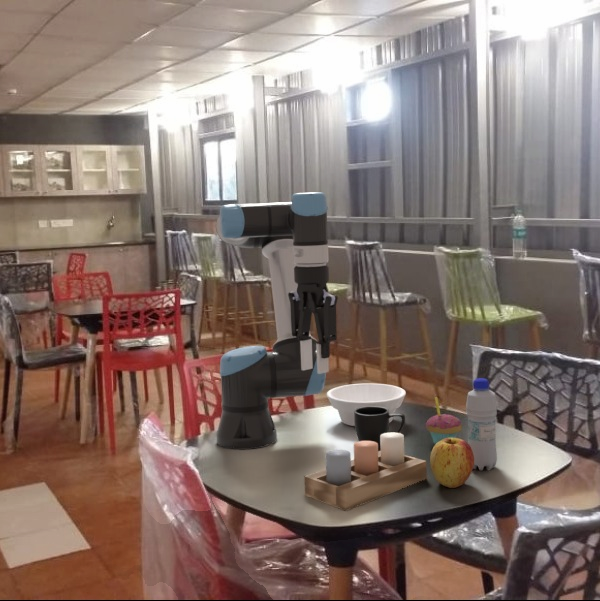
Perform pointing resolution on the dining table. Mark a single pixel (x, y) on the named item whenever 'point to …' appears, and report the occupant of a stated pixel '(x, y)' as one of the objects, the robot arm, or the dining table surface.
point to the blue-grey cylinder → (338, 467)
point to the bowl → (364, 399)
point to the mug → (373, 423)
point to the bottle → (482, 424)
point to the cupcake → (443, 425)
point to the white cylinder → (392, 448)
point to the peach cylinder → (366, 457)
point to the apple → (452, 462)
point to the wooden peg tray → (365, 483)
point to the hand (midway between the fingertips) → (314, 370)
